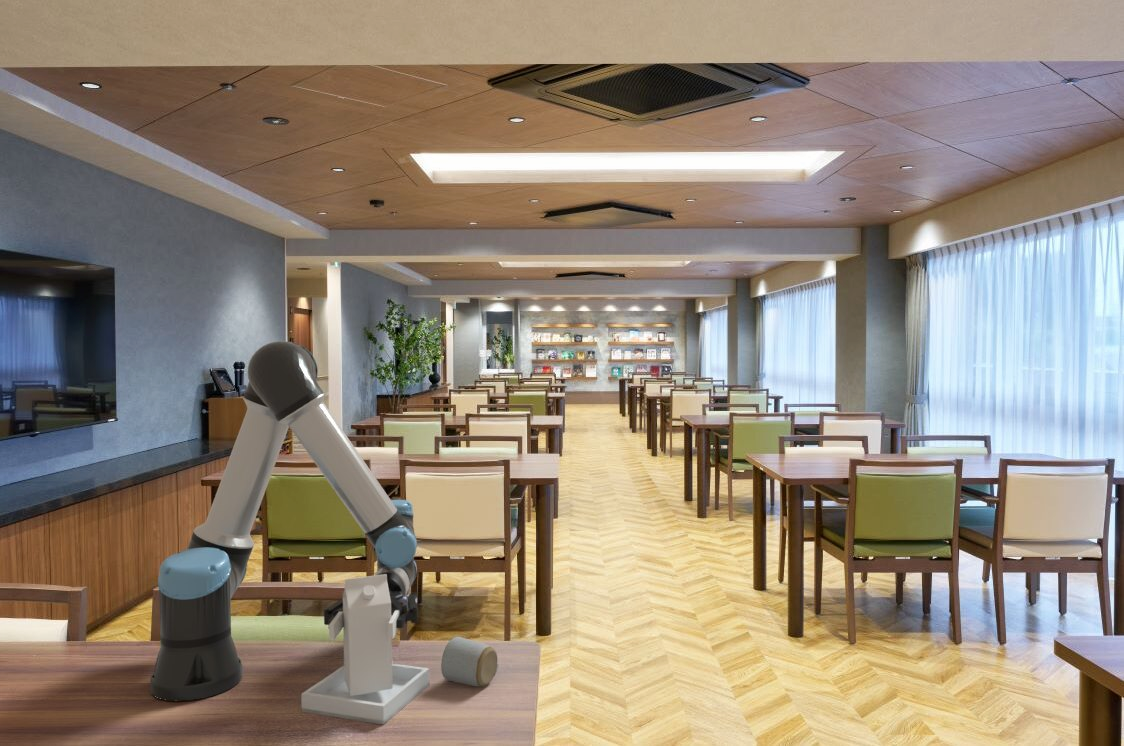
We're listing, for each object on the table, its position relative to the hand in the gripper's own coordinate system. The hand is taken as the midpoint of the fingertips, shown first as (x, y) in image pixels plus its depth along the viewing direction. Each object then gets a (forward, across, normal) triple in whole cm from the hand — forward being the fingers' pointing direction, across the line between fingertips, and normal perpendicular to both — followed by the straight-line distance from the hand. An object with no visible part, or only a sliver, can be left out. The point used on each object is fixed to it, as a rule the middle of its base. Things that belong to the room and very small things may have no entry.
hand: (361, 631), depth 130 cm
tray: (-5, 0, -13) cm, 14 cm away
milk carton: (-5, 0, -11) cm, 12 cm away
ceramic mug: (-11, -18, -14) cm, 25 cm away
